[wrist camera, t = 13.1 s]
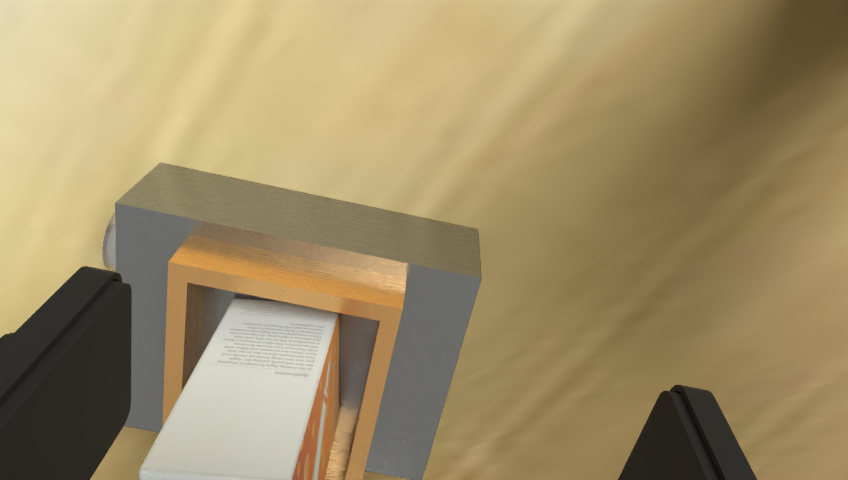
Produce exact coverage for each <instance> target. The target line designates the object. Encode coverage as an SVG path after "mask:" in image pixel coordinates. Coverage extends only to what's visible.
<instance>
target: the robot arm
mask: <svg viewBox="0 0 848 480" xmlns="http://www.w3.org/2000/svg"><path fill="white" fill-rule="evenodd" d="M131 324H132V290H131V286H130V284H128V283H123V282H122V277H121V275H120V274H119V273H117V272H112V271H107V270H102V269H97V268H92V267H87V266H85V267H81V268H80V269H79V270H78V271H77V272H76V273H75V274H74V275H73V276H72V277H70V278H69V279H68V280H67V281H66V282H65V283H64V284H63V285H62V286H61V287H60V288H59V289H58V290H57V291H56V292H55V293H54V294H53V295H52V296H51V297H50V298H49V299H48V300H47V301H46V302H45V303H44V304H43V305H42V306H41V307H40V308H39V309H38V310H37V311H36V312H35V313H34V314H33V315H32V316H31V317H30V318H29V319H28V320H27V321H26V322H25V323H24V324H23V325H22V326H21V327H20V328H19V329H18V330H17V331H16V332H15V333H10V334H6V335H4V336H3V337H1V338H0V480H90V479H91V477H92V475H93V474H94V472H95V471H96V469H97V467H98V466H99V464H100V463H101V461H102V459H103V458H104V456H105V455H106V453H107V452H108V450H109V448H110V447H111V445H112V444H113V442H114V440H115V439H116V437H117V436H118V434H119V432H120V431H121V429H122V428H123V426H124V424H125V422H126V420H127V418H128V415H129V412H130V407H131ZM618 480H757V479H756V477H755V475H754V473H753V471H752V469H751V467H750V465H749V463H748V461H747V459H746V457H745V455H744V453H743V452H742V450H741V448H740V446H739V444H738V442H737V440H736V438H735V436H734V434H733V432H732V430H731V428H730V426H729V424H728V423H727V421H726V419H725V417H724V415H723V413H722V411H721V409H720V407H719V405H718V403H717V401H716V399H715V397H714V396H713V394H712V393H711V392H709V391H707V390H702V389H697V388H692V387H687V386H682V385H675V386H674V387H672V388H671V390H670V391H663V392H662V393H661V394H660V396H659V397H658V399H657V401H656V403H655V405H654V407H653V409H652V411H651V414H650V416H649V418H648V420H647V422H646V424H645V426H644V428H643V430H642V432H641V434H640V436H639V438H638V440H637V442H636V444H635V446H634V448H633V450H632V452H631V454H630V456H629V458H628V460H627V462H626V464H625V466H624V469H623V471H622V473H621V475H620V477H619V479H618Z"/></svg>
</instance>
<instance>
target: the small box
mask: <svg viewBox="0 0 848 480" xmlns="http://www.w3.org/2000/svg"><path fill="white" fill-rule="evenodd" d="M339 330H340V313H337V312H332V311H327V310H322V309H317V308H312V307H307V306H302V305H297V304H292V303H287V302H277V301H265V300H250V299H233V300H232V301H231V303H230V305H229V307H228V309H227V311H226V312H225V314H224V316H223V318H222V320H221V322H220V323H219V325H218V327H217V329H216V331H215V333H214V334H213V336H212V338H211V340H210V342H209V343H208V345H207V347H206V349H205V351H204V353H203V354H202V356H201V358H200V360H199V362H198V363H197V365H196V367H195V369H194V371H193V372H192V374H191V376H190V378H189V380H188V381H187V383H186V385H185V387H184V389H183V391H182V392H181V394H180V396H179V398H178V400H177V401H176V403H175V405H174V407H173V409H172V411H171V413H170V414H169V416H168V418H167V420H166V422H165V424H164V425H163V427H162V429H161V431H160V433H159V434H158V436H157V438H156V440H155V442H154V443H153V445H152V447H151V449H150V451H149V453H148V454H147V456H146V458H145V460H144V462H143V464H142V465H141V467H140V469H139V474H138V475H139V480H325V475H326V471H327V466H328V462H329V458H330V453H331V450H332V446H333V441H334V437H335V432H336V428H337V424H338V419H339V414H340V406H339Z"/></svg>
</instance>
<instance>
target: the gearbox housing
mask: <svg viewBox="0 0 848 480" xmlns="http://www.w3.org/2000/svg"><path fill="white" fill-rule="evenodd" d="M103 261H104V265H105V267H106V268H107V269H108V270H111V271H116V272H117V273H119V274H120V275H121V277H122V282H123V283H128V284H130V286H131V290H132V324H131V407H130V412H129V415H128V418H127V420H126V422H125V424H124V426H127V427H132V428H138V429H143V430H148V431H154V432H159V433H160V431H161V429H162V427H163V425H164V424H165V422H166V420H167V418H168V416H169V414H170V413H171V411H172V409H173V407H174V405H175V403H176V401H177V400H178V398H179V396H180V394H181V392H182V391H183V389H184V387H185V385H186V383H187V381H188V380H189V378H190V376H191V374H192V372H193V371H194V369H195V367H196V365H197V363H198V362H199V360H200V358H201V356H202V354H203V353H204V351H205V349H206V347H207V345H208V343H209V342H210V340H211V338H212V336H213V334H214V333H215V331H216V329H217V327H218V325H219V323H220V322H221V320H222V318H223V316H224V314H225V312H226V311H227V309H228V307H229V305H230V303H231V301H232V300H233V299H250V300H265V301H277V302H287V303H292V304H297V305H302V306H307V307H312V308H317V309H322V310H327V311H332V312H337V313H340V330H339V406H340V414H339V419H338V424H337V428H336V432H335V437H334V441H333V446H332V450H331V453H330V458H329V462H328V466H327V471H326V475H325V480H362V479H363V475H364V471H368V472H374V473H379V474H384V475H390V476H395V477H400V478H406V479H411V480H422V478H423V475H424V471H425V468H426V464H427V461H428V458H429V454H430V451H431V448H432V444H433V441H434V437H435V434H436V431H437V427H438V424H439V421H440V417H441V414H442V410H443V407H444V404H445V400H446V397H447V393H448V390H449V387H450V383H451V380H452V377H453V373H454V370H455V366H456V363H457V360H458V356H459V353H460V349H461V346H462V343H463V339H464V336H465V333H466V329H467V326H468V322H469V319H470V316H471V312H472V309H473V306H474V302H475V299H476V295H477V292H478V289H479V285H480V282H481V263H480V249H479V234H478V229H473V228H468V227H463V226H459V225H454V224H449V223H444V222H440V221H435V220H430V219H425V218H421V217H416V216H411V215H406V214H402V213H397V212H392V211H387V210H383V209H378V208H373V207H368V206H364V205H359V204H354V203H349V202H345V201H340V200H335V199H330V198H326V197H321V196H316V195H311V194H307V193H302V192H297V191H292V190H288V189H283V188H278V187H273V186H269V185H264V184H259V183H254V182H250V181H245V180H240V179H235V178H231V177H226V176H221V175H216V174H212V173H207V172H202V171H197V170H193V169H188V168H183V167H178V166H174V165H169V164H164V163H159V164H158V165H157V166H156V167H155V168H154V169H153V170H152V171H150V172H149V173H148V174H147V175H146V176H145V177H144V178H143V179H141V180H140V181H139V182H138V183H137V184H136V185H135V186H134V187H133V188H131V189H130V190H129V191H128V192H127V193H126V194H125V195H124V196H123V197H121V198H120V199H119V200H118V201H117V202H116V203H115V213H114V214H113V216H112V218H111V220H110V222H109V224H108V227H107V230H106V233H105V237H104V243H103Z"/></svg>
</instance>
